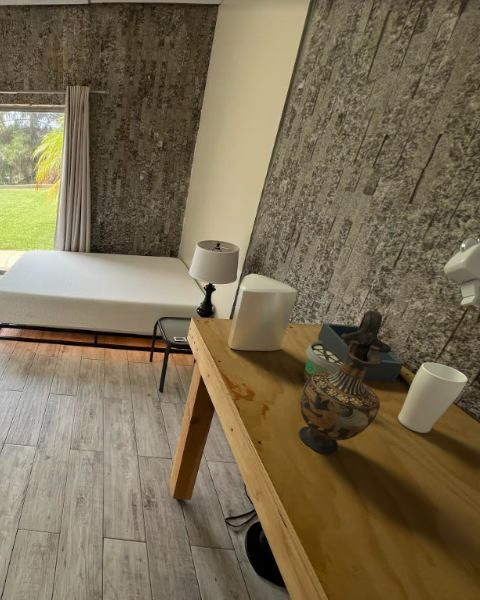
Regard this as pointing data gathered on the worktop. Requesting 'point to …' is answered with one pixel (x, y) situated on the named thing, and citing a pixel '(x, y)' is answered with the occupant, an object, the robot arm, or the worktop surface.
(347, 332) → the blue open box
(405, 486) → the worktop surface
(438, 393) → the white cup
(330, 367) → the food container
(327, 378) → the vase
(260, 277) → the white rounded triangular prism
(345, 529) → the worktop surface
